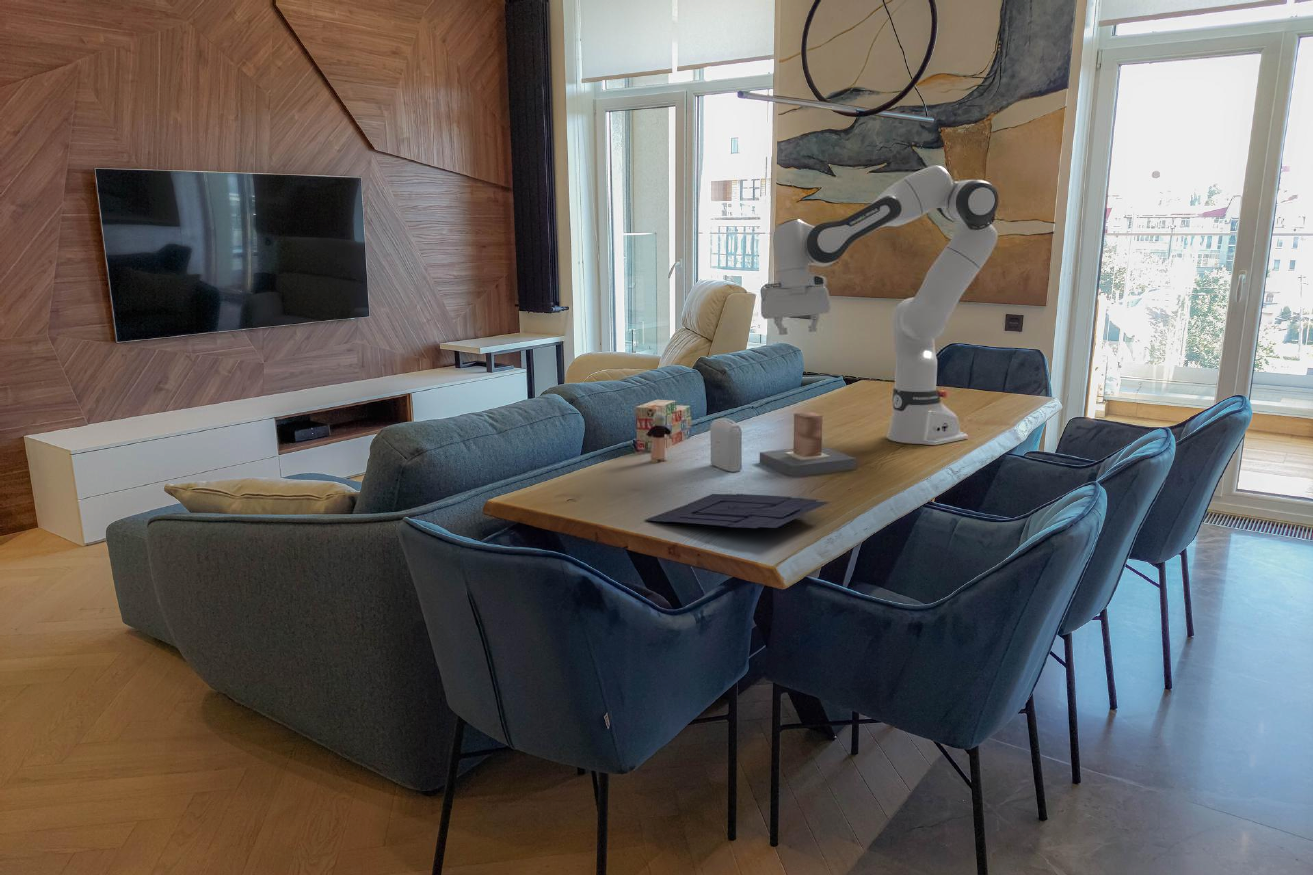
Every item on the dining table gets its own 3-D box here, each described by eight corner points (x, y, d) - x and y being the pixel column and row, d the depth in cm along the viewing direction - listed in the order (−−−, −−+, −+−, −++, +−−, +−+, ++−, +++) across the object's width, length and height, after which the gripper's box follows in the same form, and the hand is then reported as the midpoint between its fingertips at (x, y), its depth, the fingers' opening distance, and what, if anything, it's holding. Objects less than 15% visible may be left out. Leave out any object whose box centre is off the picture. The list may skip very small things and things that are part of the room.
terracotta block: (810, 451, 223) (811, 412, 221) (821, 455, 219) (822, 415, 217) (793, 453, 222) (794, 413, 219) (803, 457, 217) (804, 417, 215)
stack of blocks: (672, 435, 259) (671, 394, 257) (691, 437, 256) (691, 395, 254) (636, 450, 241) (635, 406, 238) (656, 452, 238) (655, 407, 235)
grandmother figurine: (651, 464, 225) (650, 415, 222) (643, 461, 228) (642, 412, 225) (676, 459, 229) (675, 411, 226) (667, 457, 232) (667, 409, 230)
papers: (771, 545, 159) (769, 525, 159) (644, 533, 179) (642, 515, 178) (836, 513, 178) (834, 495, 177) (714, 505, 197) (713, 489, 197)
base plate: (820, 455, 231) (820, 444, 231) (856, 469, 217) (856, 457, 216) (759, 462, 225) (759, 451, 224) (792, 477, 210) (792, 464, 210)
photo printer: (708, 464, 224) (708, 416, 221) (722, 462, 226) (722, 414, 223) (728, 473, 215) (729, 423, 212) (744, 471, 217) (744, 421, 214)
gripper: (766, 282, 231) (771, 335, 232) (831, 278, 239) (836, 329, 240) (753, 285, 237) (759, 337, 238) (817, 281, 245) (822, 331, 246)
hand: (798, 333), depth 239 cm, fingers open, 8 cm apart
